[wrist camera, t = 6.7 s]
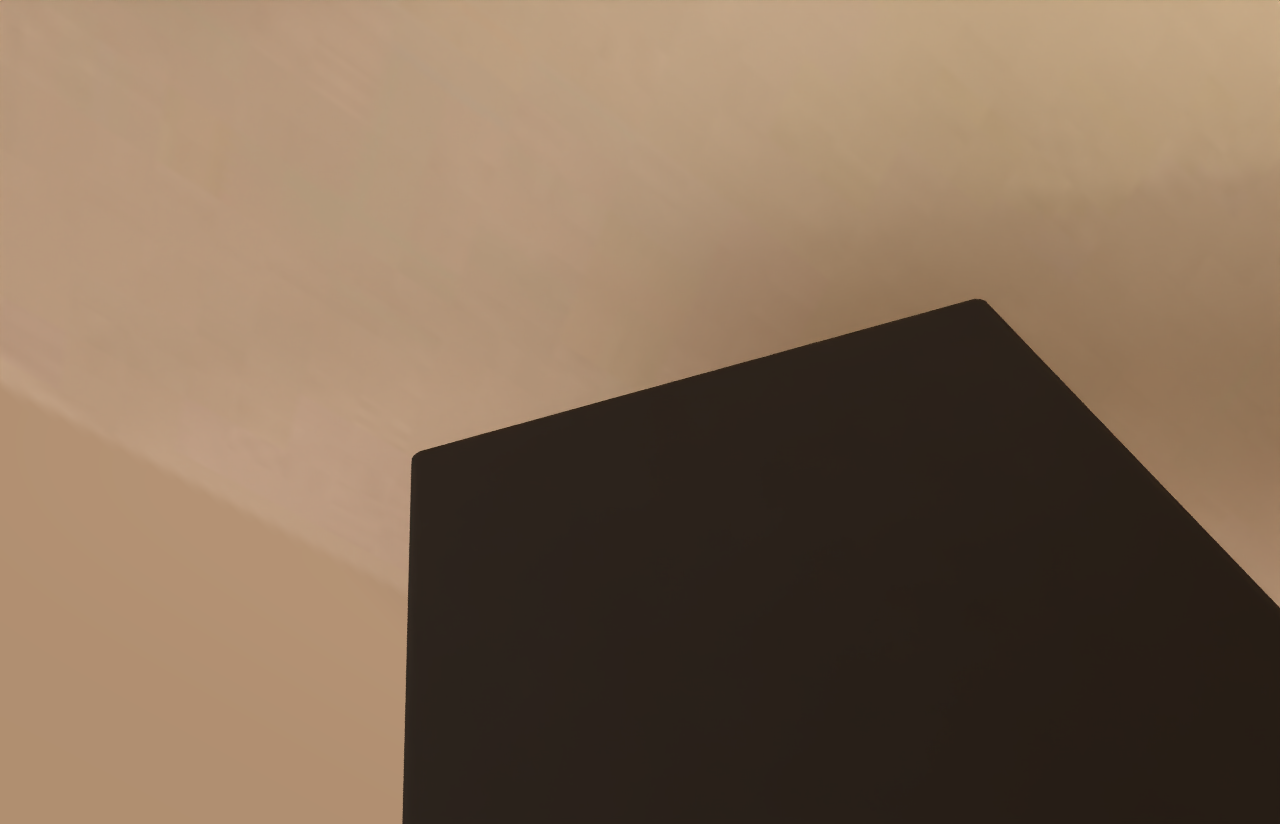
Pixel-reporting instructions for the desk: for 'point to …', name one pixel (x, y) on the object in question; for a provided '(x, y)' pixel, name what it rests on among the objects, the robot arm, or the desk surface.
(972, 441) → the matte charcoal cube
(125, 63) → the desk surface
